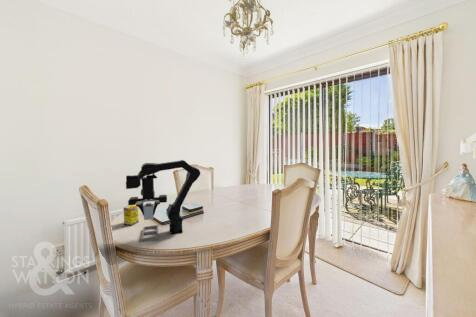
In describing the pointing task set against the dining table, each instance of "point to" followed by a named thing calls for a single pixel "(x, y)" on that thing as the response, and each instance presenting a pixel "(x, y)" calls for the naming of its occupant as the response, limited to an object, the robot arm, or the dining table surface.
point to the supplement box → (131, 215)
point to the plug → (148, 211)
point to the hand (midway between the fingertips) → (149, 215)
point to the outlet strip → (149, 233)
